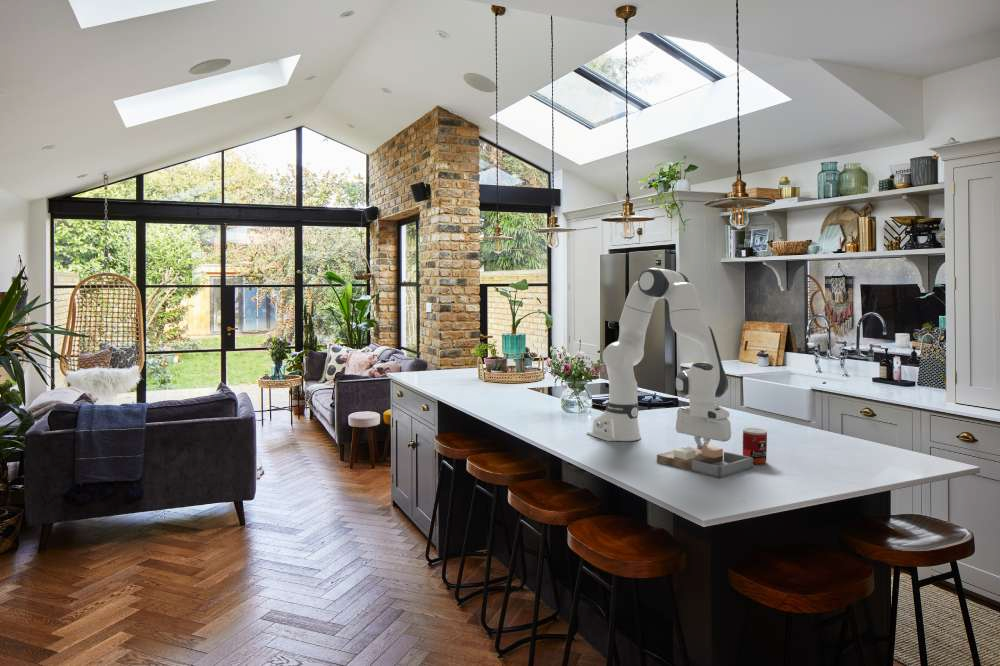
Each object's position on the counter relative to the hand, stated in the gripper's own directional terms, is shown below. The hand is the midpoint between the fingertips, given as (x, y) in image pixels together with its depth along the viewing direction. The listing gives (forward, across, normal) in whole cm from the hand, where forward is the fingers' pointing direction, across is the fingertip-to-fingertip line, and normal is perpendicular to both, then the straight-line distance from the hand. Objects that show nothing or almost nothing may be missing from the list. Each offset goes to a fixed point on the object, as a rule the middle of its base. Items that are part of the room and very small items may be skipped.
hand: (702, 449), depth 228 cm
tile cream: (+1, -1, -9) cm, 9 cm away
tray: (+4, +11, -4) cm, 12 cm away
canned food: (+4, +12, +12) cm, 18 cm away
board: (+4, -2, -5) cm, 6 cm away
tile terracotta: (+1, +4, 0) cm, 4 cm away
